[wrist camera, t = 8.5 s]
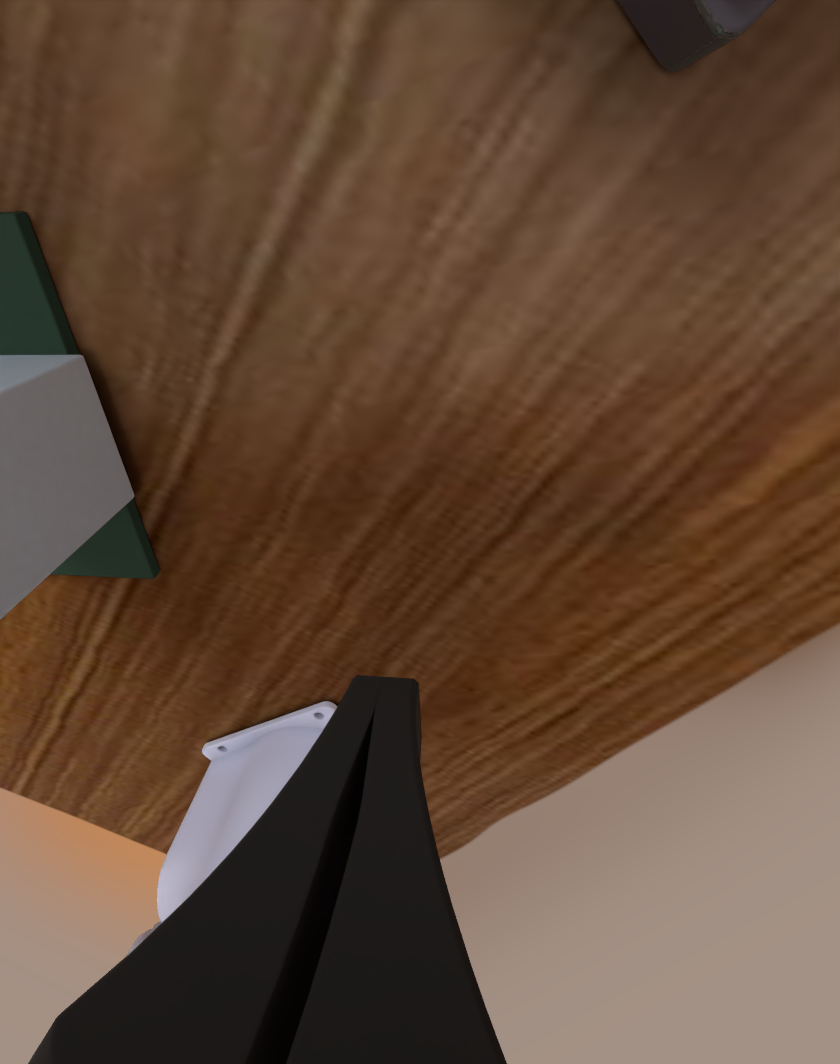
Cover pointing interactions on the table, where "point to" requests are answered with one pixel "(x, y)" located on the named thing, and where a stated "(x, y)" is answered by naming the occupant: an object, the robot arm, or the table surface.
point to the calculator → (690, 26)
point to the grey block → (51, 468)
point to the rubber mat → (42, 329)
